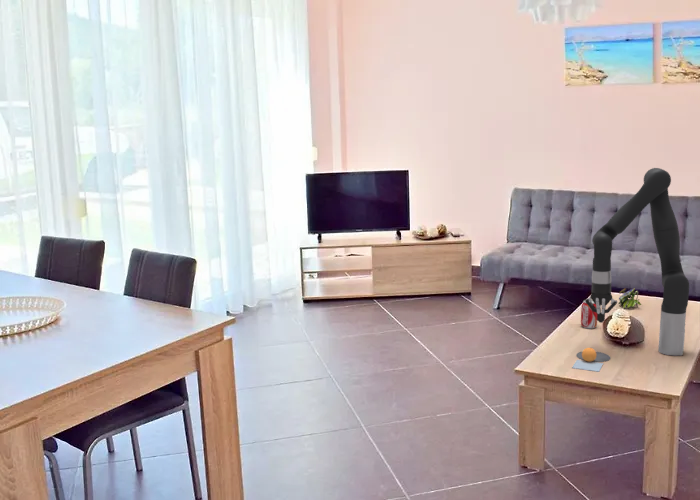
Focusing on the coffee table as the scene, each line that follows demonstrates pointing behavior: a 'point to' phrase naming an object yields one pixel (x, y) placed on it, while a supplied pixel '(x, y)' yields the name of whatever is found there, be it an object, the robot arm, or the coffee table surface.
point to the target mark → (599, 358)
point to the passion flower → (631, 301)
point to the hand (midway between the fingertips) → (600, 322)
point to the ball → (589, 354)
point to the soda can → (588, 316)
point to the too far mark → (587, 365)
